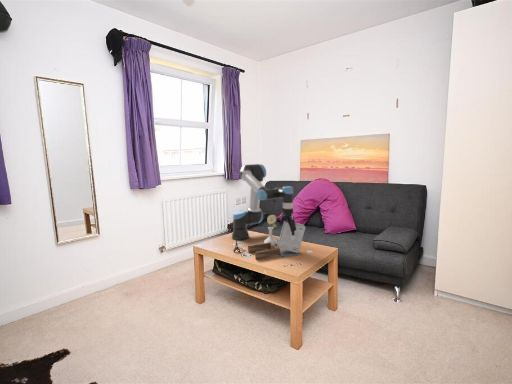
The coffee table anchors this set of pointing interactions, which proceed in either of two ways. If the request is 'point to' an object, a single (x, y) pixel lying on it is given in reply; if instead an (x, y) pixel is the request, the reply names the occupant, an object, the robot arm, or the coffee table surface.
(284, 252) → the felt pad
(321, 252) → the coffee table surface
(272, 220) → the flower in vase
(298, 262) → the coffee table surface
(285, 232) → the hard drive box
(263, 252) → the walnut shelf bay
